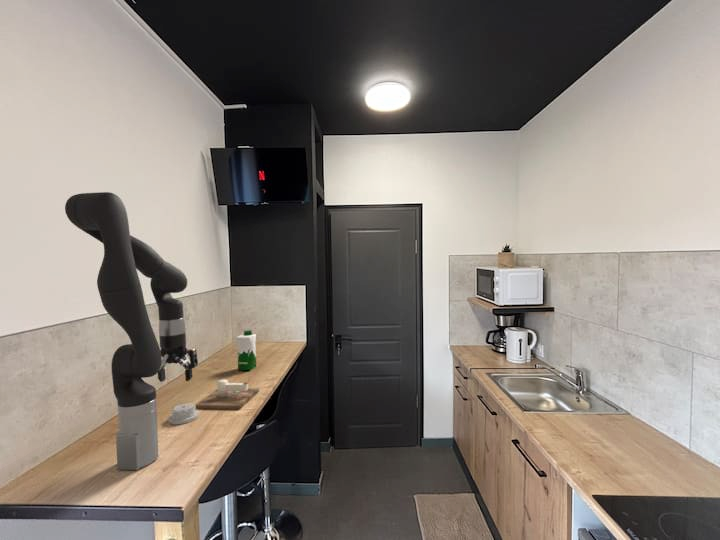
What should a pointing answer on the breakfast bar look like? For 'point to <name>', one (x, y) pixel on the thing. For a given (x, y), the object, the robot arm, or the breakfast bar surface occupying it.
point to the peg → (230, 387)
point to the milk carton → (246, 350)
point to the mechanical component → (183, 414)
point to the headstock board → (227, 400)
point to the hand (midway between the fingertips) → (175, 380)
